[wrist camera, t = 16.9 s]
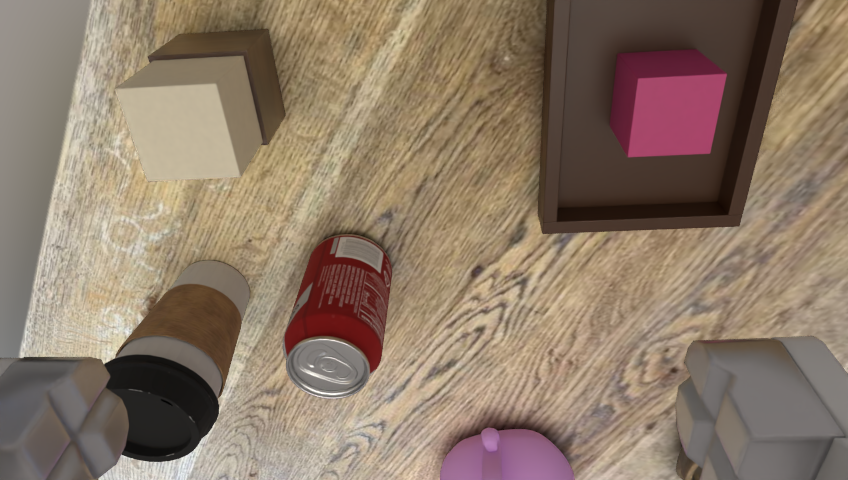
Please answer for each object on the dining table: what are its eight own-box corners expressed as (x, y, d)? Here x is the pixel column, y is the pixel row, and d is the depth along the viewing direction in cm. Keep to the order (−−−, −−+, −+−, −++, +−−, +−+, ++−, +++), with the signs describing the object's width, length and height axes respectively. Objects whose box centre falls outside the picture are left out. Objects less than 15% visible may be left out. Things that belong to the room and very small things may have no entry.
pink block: (617, 53, 39) (637, 78, 34) (697, 48, 38) (727, 73, 34) (609, 126, 41) (627, 157, 37) (683, 122, 41) (710, 153, 37)
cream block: (152, 60, 36) (113, 88, 31) (243, 55, 35) (216, 83, 31) (179, 145, 39) (147, 182, 34) (263, 141, 38) (240, 178, 34)
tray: (550, -77, 35) (557, -72, 33) (796, -95, 35) (821, -90, 32) (537, 214, 46) (542, 234, 44) (724, 207, 45) (739, 226, 43)
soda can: (338, 214, 47) (309, 314, 37) (409, 258, 49) (399, 364, 39) (295, 269, 50) (257, 376, 40) (363, 308, 52) (343, 419, 42)
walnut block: (178, 34, 40) (147, 56, 35) (268, 28, 39) (246, 50, 35) (203, 119, 43) (176, 149, 39) (285, 115, 43) (268, 145, 38)
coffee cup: (284, 285, 51) (230, 428, 38) (232, 340, 55) (168, 487, 42) (196, 228, 48) (107, 363, 35) (148, 290, 52) (52, 433, 39)
